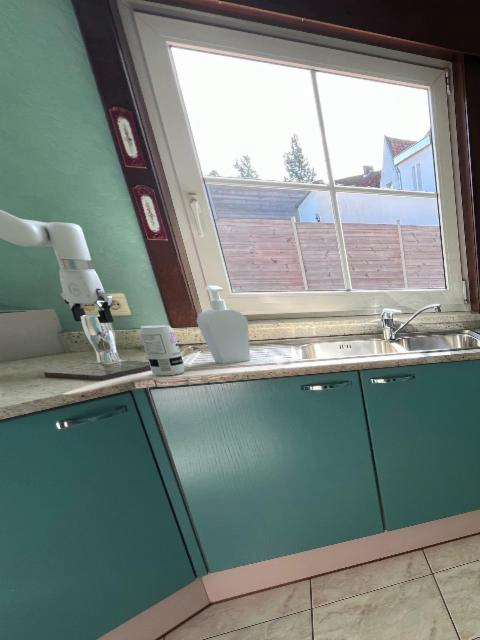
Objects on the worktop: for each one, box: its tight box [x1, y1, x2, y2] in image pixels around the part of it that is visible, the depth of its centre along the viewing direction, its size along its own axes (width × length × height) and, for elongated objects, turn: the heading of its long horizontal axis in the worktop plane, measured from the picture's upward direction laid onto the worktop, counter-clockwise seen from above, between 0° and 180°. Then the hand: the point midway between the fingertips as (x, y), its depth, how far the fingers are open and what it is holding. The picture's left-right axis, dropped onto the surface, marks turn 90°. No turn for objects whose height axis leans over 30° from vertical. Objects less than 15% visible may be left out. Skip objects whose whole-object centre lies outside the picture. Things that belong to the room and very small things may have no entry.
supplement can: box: [139, 324, 186, 376], centre depth 155 cm, size 8×8×15 cm
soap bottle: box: [196, 285, 251, 365], centre depth 173 cm, size 12×10×26 cm
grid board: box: [43, 359, 152, 381], centre depth 158 cm, size 20×20×2 cm
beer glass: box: [80, 313, 123, 363], centre depth 161 cm, size 7×7×15 cm
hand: (94, 321), depth 159 cm, fingers open, 9 cm apart
